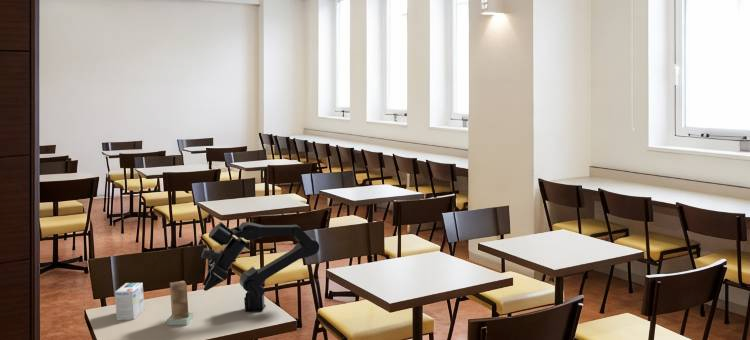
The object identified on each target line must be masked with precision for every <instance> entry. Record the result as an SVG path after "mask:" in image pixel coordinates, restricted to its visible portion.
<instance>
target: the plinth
mask: <svg viewBox="0 0 750 340" xmlns="http://www.w3.org/2000/svg"><path fill="white" fill-rule="evenodd" d="M188 315H189V317H187V318H181V319H175V320H174V318H173V316H172V314H171V315H170V316H169V317H168V318H167V319H166V320H167V321H166V324H167V326H188V325H189V324H190V322H191V321H192V320H193V319H194V312H188Z"/></svg>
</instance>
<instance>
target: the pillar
mask: <svg viewBox="0 0 750 340" xmlns="http://www.w3.org/2000/svg"><path fill="white" fill-rule="evenodd" d="M169 288H170V289H169V291H170V305H171V315H172V316H173V318H174V320H175V319H181V318H187V317H189V315H188V313H189V302H188V300H189V299H188V286H187V283H186V281H185V280H180V281H172V282H169Z"/></svg>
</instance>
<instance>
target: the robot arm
mask: <svg viewBox="0 0 750 340" xmlns="http://www.w3.org/2000/svg"><path fill="white" fill-rule="evenodd" d="M265 237H294V239H295V240H296V241H297V243H296V244H295V245H294V247H293V248H292V249H291V250H289V251H287V252H285V253H284V254H282V255H281V256H279V257H278V258H275V259H274V260H272V261H270V262H269V263H267V264H265V265H264V266H262V267H260V268H257V269H256V267H254V266H252V267H250V268H249V269H247V270H245V271H243V272H242V273H243V274H241V275H240V276H239V281H238V282H239V285H240V286H241V288H243V290H244V291H246V293H245V296H244V298H243V299H244V301H243V302H244V308H245V310H244V311H245V312H263V310H265V308H266V307H267V306H266V304H265V292H266V289H265V288H264V287H263V284H264V283H265V282H266V281H267V279H268V278H270V277H273V276H274V275H276V274H277V273H278V272H280V271H282V270H284V269H285V268H287V267H289V266H290V265H292V264H293V263H296V262H297V261H299V260H302V259H308V258H309V257H313V256H314V255H317V254H318V253H319V251H320V244H319V242H318V241H317V240H315V239H314V238H312V237H310V236H309V235H308V234H307V233H306V232H305V231H304V230H303V229H302V227H301V226H299V225H297V224H282V225H280V224H279V225H278V224H275V225H273V224H271V225H270V224H267V225H266V224H259V223H255V222H249V221H244V222H241V223H240V224H239V225H238V226H235V227H231V228H229V227H227V226H226V225H225V224H224V223H223V222H221V221H220V222H219V223H218V224H217V225H215V226H214V227H212V229H211V230H210V232H209V234H208V238H209V239H211V240H212V241H214V242H215V243H217V244H218V245H220V246H222V247H223V246H224V248H223V249H220V250H219V251H216V250H214V249H212V248H206V247H204V248H203V251H202V253H201V258H202V259H204V260H209V261H208V271H207V274H206V276H205V278H204V280H203V282H202V286H204V288H203V291H204V292H207V291H209V290H210V289H212V288H213V287H216V286H217V285H220V284H221V283H224V281H227V279H228V278H229V271H230V268H231V266H232V265H233V264H234V263H235V262H236V261H237V259H238V257H239V256H240V254H241V253H242V252H243V250H244V249H245V248H246V249H247V250H249V251H251V250H252V249H251V242H250V241H254V240H258V239H261V238H265ZM245 240H246V241H245Z"/></svg>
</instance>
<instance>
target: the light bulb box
mask: <svg viewBox="0 0 750 340" xmlns="http://www.w3.org/2000/svg"><path fill="white" fill-rule="evenodd" d="M143 285H144V284H143V282H125V283H124V284H123V285H121V286H120V287H119V288H118V289H117V290H115V291H114V299H115V300H114V301H115V314H116V321H121V320H122V321H126V320H127V321H128V320H129V321H130V320H131V321H134V320H135V319H136V318H137V317H138V316H139V315H141V314H142V313H143V312H144V311H145V298H144V286H143Z"/></svg>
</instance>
